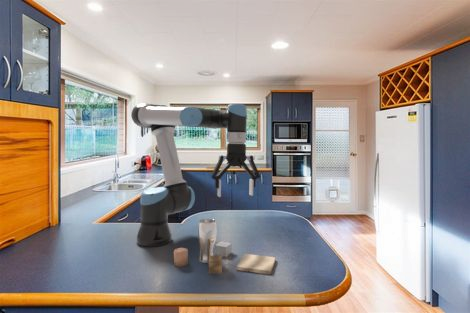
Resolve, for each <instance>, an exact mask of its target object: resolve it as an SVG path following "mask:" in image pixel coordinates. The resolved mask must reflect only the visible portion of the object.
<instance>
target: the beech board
mask: <svg viewBox="0 0 470 313" xmlns="http://www.w3.org/2000/svg"><path fill="white" fill-rule="evenodd" d="M275 262H276V257H275V256H268V255H267V256H266V255H258V254H251V253H250V254H249V253H244V254H243V256H242V258H241V259H240V260H239V262H238V263H237V265H236V270H237V271H242V272H248V271H249V272H248V273H256V274H264V275H272V271H273V268H274V267H275V266H274V265H275Z"/></svg>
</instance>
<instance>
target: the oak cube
mask: <svg viewBox="0 0 470 313" xmlns="http://www.w3.org/2000/svg"><path fill="white" fill-rule="evenodd" d="M211 273H212V274H223V256H222V255H215V256H209V263H208V274H210V275H211Z"/></svg>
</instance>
